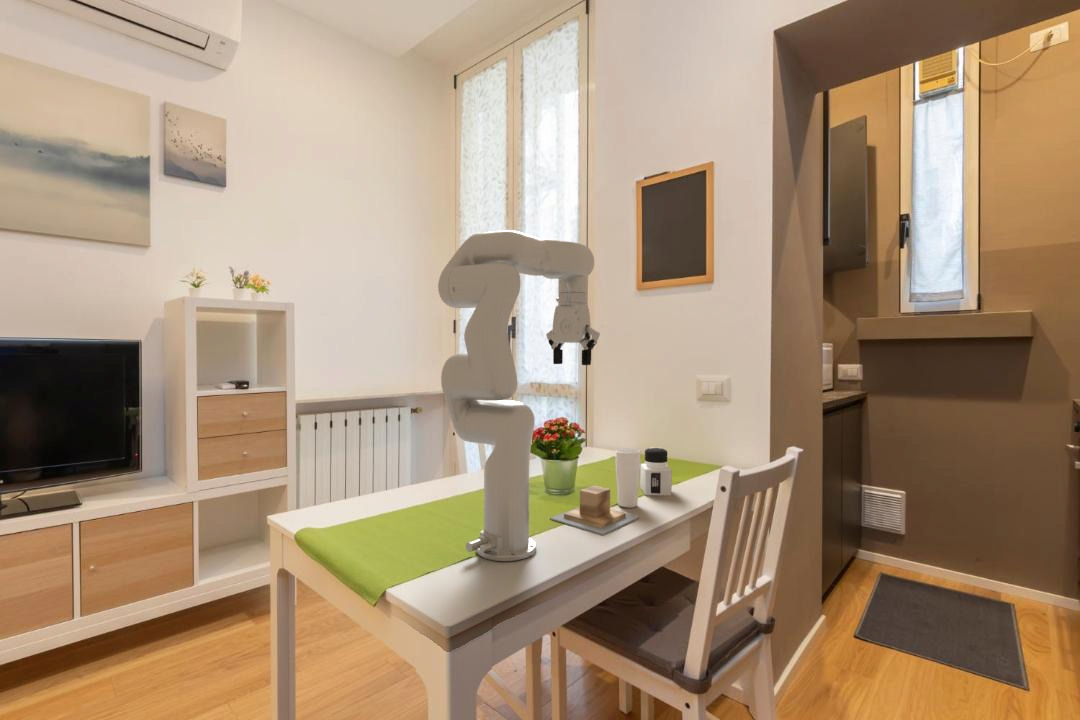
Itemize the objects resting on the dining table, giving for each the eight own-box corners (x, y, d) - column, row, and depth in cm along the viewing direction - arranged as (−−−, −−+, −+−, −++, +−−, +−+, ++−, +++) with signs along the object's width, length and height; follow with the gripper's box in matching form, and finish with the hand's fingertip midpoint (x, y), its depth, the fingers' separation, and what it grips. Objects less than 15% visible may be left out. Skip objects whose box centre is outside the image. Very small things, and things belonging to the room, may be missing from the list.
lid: (600, 528, 122) (600, 498, 121) (563, 517, 129) (564, 489, 129) (625, 517, 130) (625, 489, 130) (590, 507, 137) (590, 481, 137)
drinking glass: (639, 502, 144) (639, 448, 143) (641, 509, 137) (642, 453, 137) (614, 501, 144) (614, 447, 144) (615, 508, 138) (616, 452, 137)
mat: (602, 535, 118) (602, 533, 118) (549, 519, 129) (549, 517, 129) (639, 518, 130) (639, 516, 130) (588, 505, 141) (588, 503, 141)
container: (671, 496, 150) (672, 451, 150) (645, 495, 150) (645, 451, 150) (665, 488, 158) (666, 446, 157) (640, 488, 158) (640, 446, 158)
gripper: (538, 301, 141) (538, 363, 142) (590, 297, 130) (589, 365, 130) (556, 303, 147) (556, 363, 147) (607, 299, 135) (606, 365, 136)
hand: (571, 364), depth 139 cm, fingers open, 9 cm apart
